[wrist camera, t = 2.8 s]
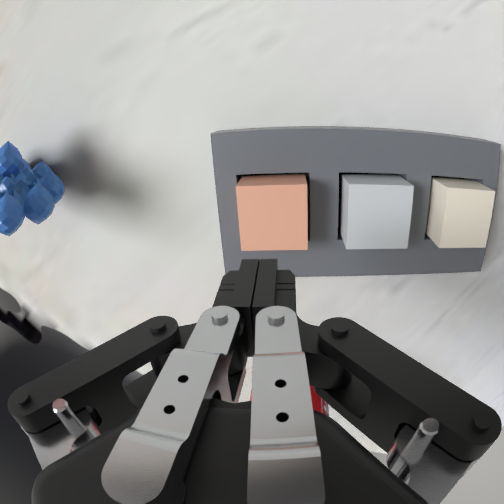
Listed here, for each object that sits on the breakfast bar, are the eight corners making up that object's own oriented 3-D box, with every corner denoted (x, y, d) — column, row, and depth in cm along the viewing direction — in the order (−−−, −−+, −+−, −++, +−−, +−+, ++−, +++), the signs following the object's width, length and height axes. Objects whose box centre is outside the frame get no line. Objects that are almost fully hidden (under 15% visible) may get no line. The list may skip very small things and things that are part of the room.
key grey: (399, 175, 21) (413, 185, 18) (394, 231, 23) (407, 248, 20) (341, 174, 21) (348, 184, 19) (339, 232, 23) (346, 249, 21)
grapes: (100, 138, 24) (-4, 172, 13) (92, 210, 27) (5, 273, 16) (14, 124, 23) (-77, 151, 13) (12, 185, 26) (-70, 228, 16)
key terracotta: (304, 174, 22) (307, 184, 19) (305, 232, 24) (307, 249, 21) (242, 176, 22) (235, 186, 20) (246, 233, 24) (241, 250, 21)
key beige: (475, 180, 20) (495, 191, 17) (468, 232, 22) (485, 247, 19) (430, 177, 21) (447, 187, 18) (424, 231, 22) (439, 248, 20)
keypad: (484, 139, 20) (500, 144, 18) (468, 258, 25) (480, 271, 22) (218, 130, 23) (210, 133, 20) (231, 262, 27) (225, 277, 25)
